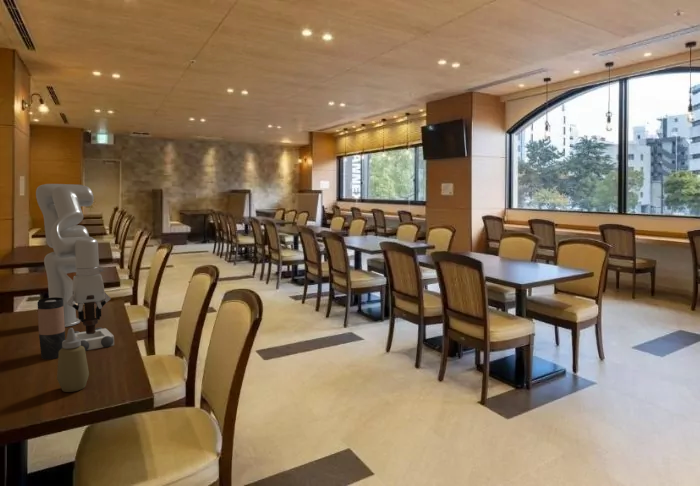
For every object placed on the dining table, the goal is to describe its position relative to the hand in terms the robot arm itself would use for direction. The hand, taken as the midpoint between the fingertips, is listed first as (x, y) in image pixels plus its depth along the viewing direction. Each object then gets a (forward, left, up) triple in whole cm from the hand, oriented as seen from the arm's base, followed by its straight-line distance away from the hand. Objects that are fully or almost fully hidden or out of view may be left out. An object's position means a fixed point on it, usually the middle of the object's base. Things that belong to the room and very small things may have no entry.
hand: (90, 319), depth 175 cm
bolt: (0, 0, -6) cm, 6 cm away
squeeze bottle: (+41, -13, -10) cm, 44 cm away
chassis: (0, 0, -10) cm, 10 cm away
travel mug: (+6, -13, -10) cm, 17 cm away
